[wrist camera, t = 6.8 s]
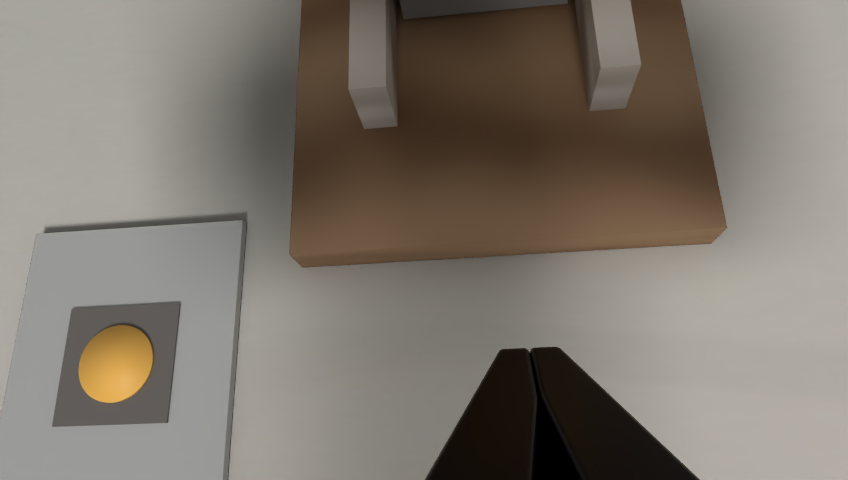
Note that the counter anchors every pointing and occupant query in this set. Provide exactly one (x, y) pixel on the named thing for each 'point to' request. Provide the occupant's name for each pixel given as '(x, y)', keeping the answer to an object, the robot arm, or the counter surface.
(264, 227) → the counter surface
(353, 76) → the wooden block stand
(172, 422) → the pattern card
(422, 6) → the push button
